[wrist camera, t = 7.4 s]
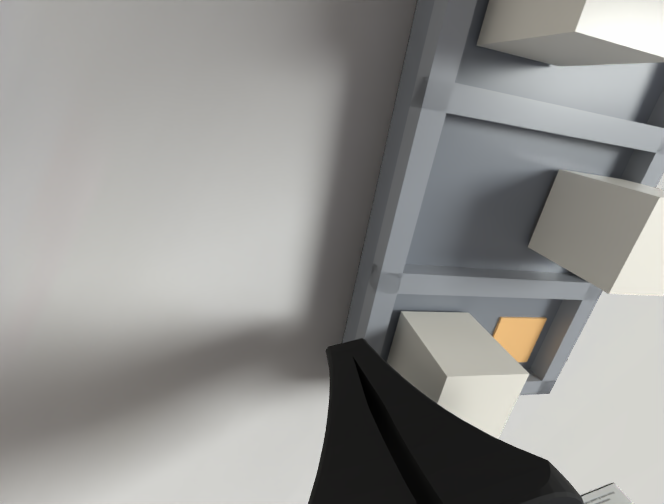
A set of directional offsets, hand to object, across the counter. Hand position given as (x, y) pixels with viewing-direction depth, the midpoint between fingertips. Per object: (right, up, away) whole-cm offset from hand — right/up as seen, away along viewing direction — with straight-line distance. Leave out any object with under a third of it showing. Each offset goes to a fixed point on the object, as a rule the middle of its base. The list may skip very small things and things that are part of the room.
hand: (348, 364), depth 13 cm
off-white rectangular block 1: (+3, 0, +2) cm, 4 cm away
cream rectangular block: (+9, +5, +1) cm, 10 cm away
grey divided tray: (+6, +6, +2) cm, 9 cm away
